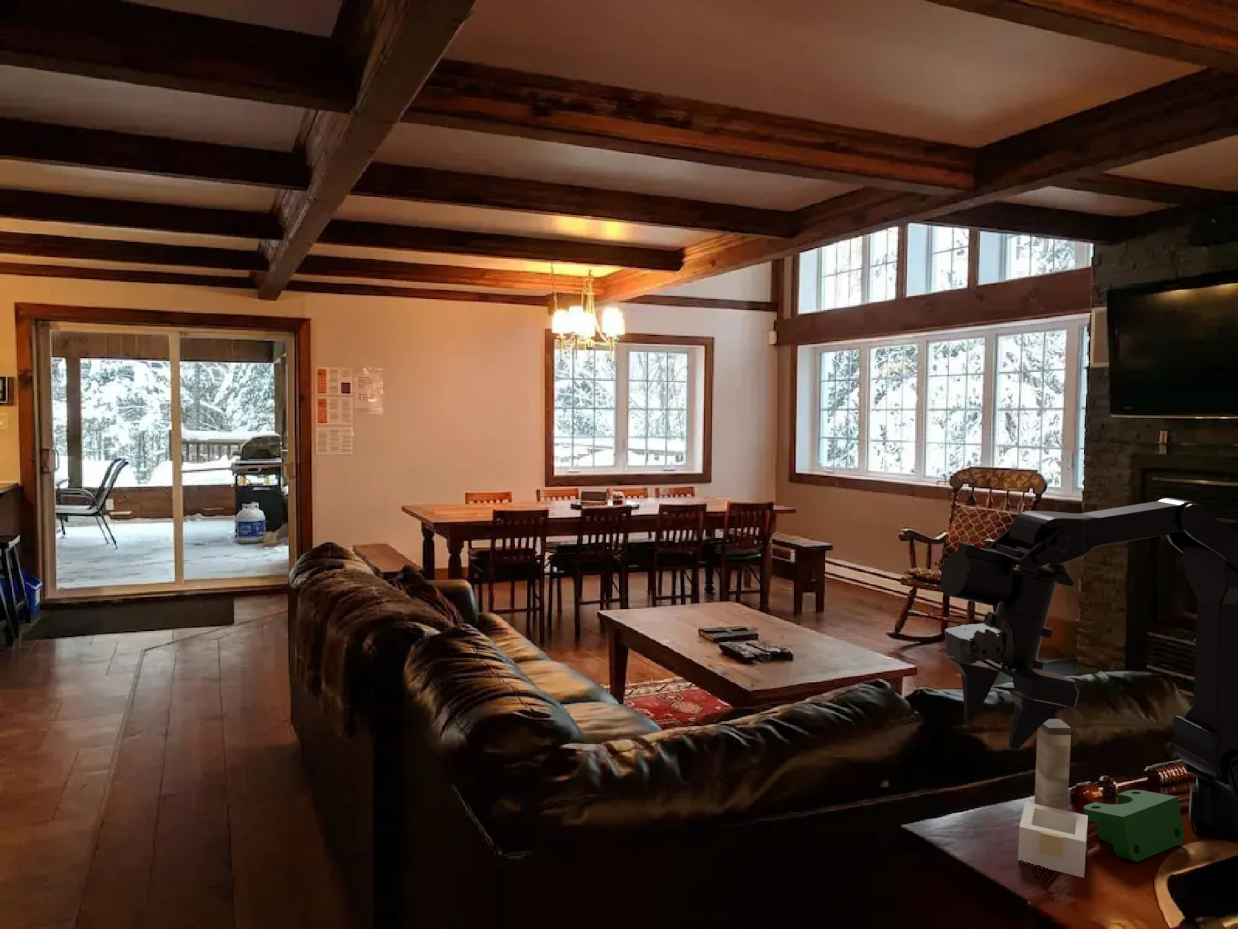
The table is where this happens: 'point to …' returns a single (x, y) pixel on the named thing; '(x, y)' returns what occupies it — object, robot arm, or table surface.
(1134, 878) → the table surface
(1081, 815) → the white labeled box
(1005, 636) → the robot arm
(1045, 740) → the tall wooden post
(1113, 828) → the clamp
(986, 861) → the table surface
